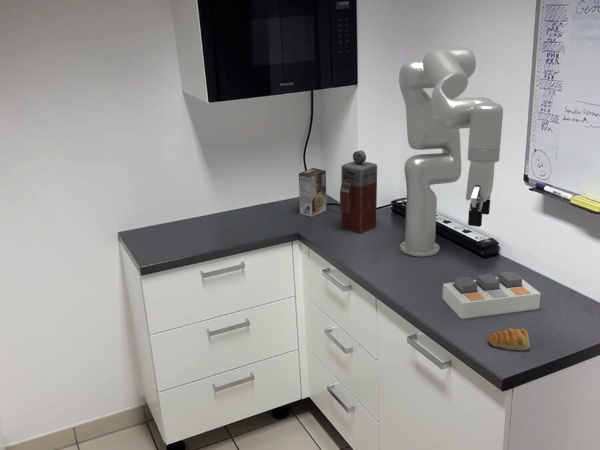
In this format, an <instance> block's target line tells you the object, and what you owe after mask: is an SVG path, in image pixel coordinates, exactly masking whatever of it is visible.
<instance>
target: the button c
mask: <svg viewBox="0 0 600 450" xmlns="http://www.w3.org/2000/svg"><path fill="white" fill-rule="evenodd" d="M497 277H498V281H500V283H501V284H502V285H503V286H504V287H506V288H514V287H522V279H523V278H522V277H521V276H519V275H518V274H516V273H515V272H514V271H503V272H498V274H497Z"/></svg>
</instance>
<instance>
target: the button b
mask: <svg viewBox="0 0 600 450" xmlns="http://www.w3.org/2000/svg"><path fill="white" fill-rule="evenodd" d="M475 277H476V278H475V280H476V284H477V285H478V286H479V287H480V288H481V289H482V290H483V291H490V290H498V289H499V287H500V281H498V280H497V279H496V278H495V277H496V276H494V275H493V274H492V273H487V274H486V273H485V274H479V275H476V276H475Z"/></svg>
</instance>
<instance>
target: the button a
mask: <svg viewBox="0 0 600 450" xmlns="http://www.w3.org/2000/svg"><path fill="white" fill-rule="evenodd" d="M473 280H474V279H472V278H471V277H470V276H461V277H454V278H453V282H454V287H455V288H456V289H457V290H458V291H459V292H460V293H461V294H466V293H474V292H477V284H476V283H475V282H474V281H473Z"/></svg>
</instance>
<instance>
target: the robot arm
mask: <svg viewBox="0 0 600 450" xmlns="http://www.w3.org/2000/svg"><path fill="white" fill-rule="evenodd" d="M476 59H477V58H476V56H475V54H474V52H473V51H472V50H471V49H470V48H469V47H464V46H463V47H460V46H459V47H457V46H455V47H441V48H440V47H439V48H433V49H431V50H430V51H428V52H426V54H425V55H424V57H423V58H422V59H416V60H415V59H414V60H409V61H407V62H405V63H403V64H402V65H401V67H400V70H399V74H398V82H399V83H398V84H399V89H400V92H401V93H400V94H401V96H402V99H403V102H404V105H405V117H406V133H407V135H406V136H407V141H408V145H409V147H410V148H411V149H413V150H418V151H420V150H421V151H423V150H424V151H426V150H438V149H439V150H441V151H442V152H440V153H439V152H438V153H422V154H416V155H412V156H410V157H409V158H407V159H406V161H405V163H404V167H403V168H404V175H405V177H404V178H405V186H406V205H405V229H404V230H405V235H404V237H405V238H404V241H402V242H401V243H400V244H399V250H400V251H401V252H402V253H404V254H405V255H408V256H413V257H431V256H434V255H436V254H438V253H439V252H440V246H439V244H438V243H437V242H436V227H437V225H436V224H437V206H438V198H437V195H436V193H435V191H433V189H431V186H432V185H433V186H434V185H439V184H440V185H442V184H451V183H452V184H453V183H456V182H457V181H459V179H460V178H461V175H462V150H461V133H460V130H461V129H469V130H468V131H469V132H468V133H469V134H468V149H467V160H468V161H469V162H470V164H469V169H468V176H467V182H466V193H465V199H466V201H469V200H470V203H469V208H468V218H467V219H468V222H467V225H468V226H471V227H472V226H473V227H481V226H482V223H483V222H482V221H483V215H485V216H486V215H487V216H489V214H490V208H491V194H492V192H493V187H494V179H495V178H494V176H495V165H496V164H495V163H499V162H500V153H501V144H502V143H501V141H502V130H503V117H504V116H503V115H504V108H503V106H502V105H501V104H499V103H495V102H494V101H493V100H492V99H491V98H488V97H483V96H482V97H460V96H461V95H462V94H463V93H464V92H465V91H466V89H467V87H468V84H469V78H470V77H472V75H473V74H474V72H475V71H476V65H477V60H476ZM424 89H425V90H424ZM426 89H433V90H432V93H431V96H430V95H429V94H428V92H426ZM458 97H460V98H458Z"/></svg>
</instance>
